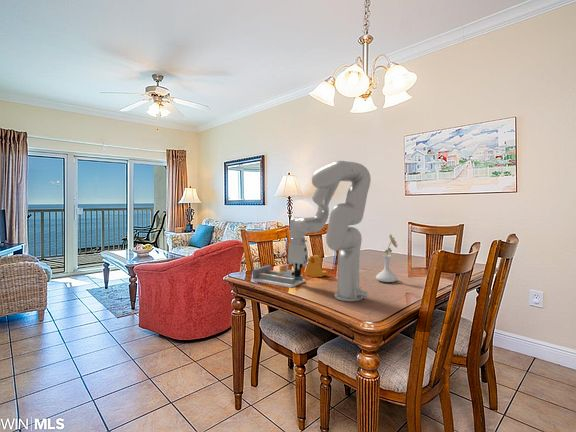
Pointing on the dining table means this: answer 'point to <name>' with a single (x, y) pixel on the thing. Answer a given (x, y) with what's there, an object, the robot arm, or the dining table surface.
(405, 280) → the dining table surface
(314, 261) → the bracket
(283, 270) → the gauge carriage
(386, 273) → the flower in vase
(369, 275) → the dining table surface
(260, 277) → the scale board
